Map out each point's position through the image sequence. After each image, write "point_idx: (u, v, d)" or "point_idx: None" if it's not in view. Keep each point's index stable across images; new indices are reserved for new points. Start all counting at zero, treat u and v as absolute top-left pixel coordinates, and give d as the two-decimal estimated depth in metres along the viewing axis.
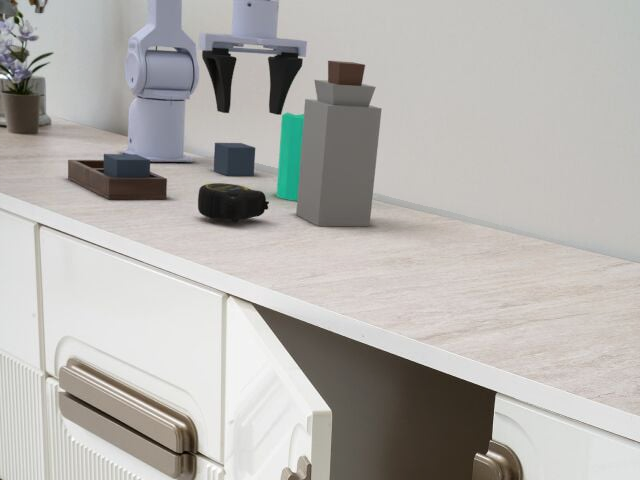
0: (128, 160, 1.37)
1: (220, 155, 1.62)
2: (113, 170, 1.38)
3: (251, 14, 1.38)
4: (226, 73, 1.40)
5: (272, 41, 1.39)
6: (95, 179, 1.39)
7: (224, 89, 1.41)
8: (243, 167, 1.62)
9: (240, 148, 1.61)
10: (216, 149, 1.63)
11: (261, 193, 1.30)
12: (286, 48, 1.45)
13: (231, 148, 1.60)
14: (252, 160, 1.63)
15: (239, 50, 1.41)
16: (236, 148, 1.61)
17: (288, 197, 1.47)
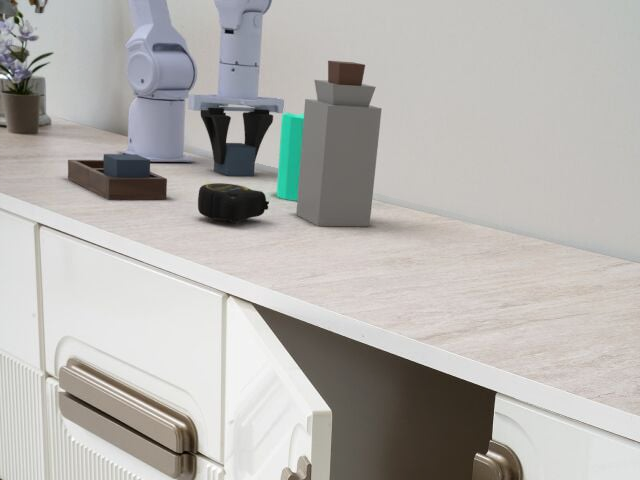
0: (128, 160, 1.37)
1: None
2: (113, 170, 1.38)
3: (234, 78, 1.56)
4: (221, 130, 1.59)
5: (253, 102, 1.57)
6: (95, 179, 1.39)
7: (220, 144, 1.60)
8: (243, 167, 1.62)
9: (240, 148, 1.61)
10: None
11: (261, 193, 1.30)
12: (266, 106, 1.63)
13: (231, 148, 1.60)
14: (252, 160, 1.63)
15: (224, 109, 1.59)
16: (236, 148, 1.61)
17: (288, 197, 1.47)
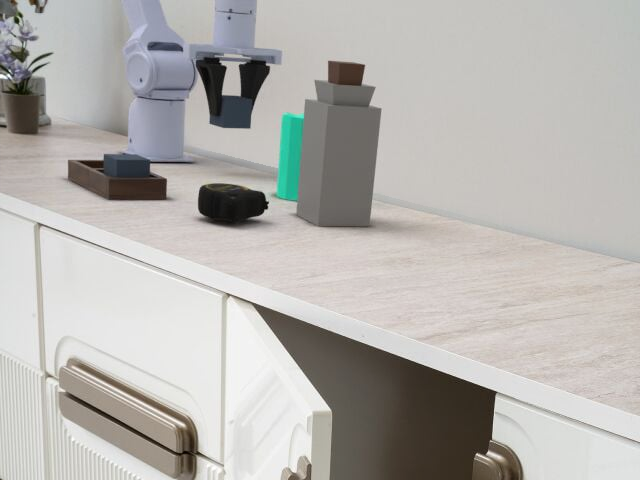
0: (128, 160, 1.37)
1: None
2: (113, 170, 1.38)
3: (230, 26, 1.53)
4: (217, 80, 1.55)
5: (250, 51, 1.54)
6: (95, 179, 1.39)
7: (215, 95, 1.56)
8: (239, 119, 1.59)
9: (237, 99, 1.57)
10: None
11: (261, 193, 1.30)
12: (263, 57, 1.59)
13: (227, 99, 1.57)
14: (249, 112, 1.59)
15: (220, 59, 1.56)
16: (232, 99, 1.57)
17: (288, 197, 1.47)
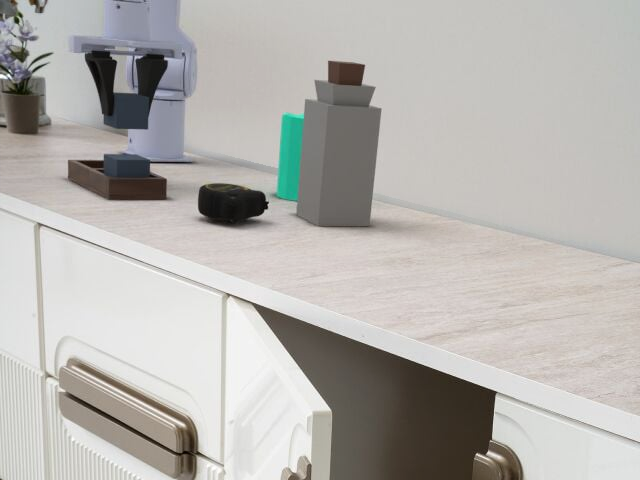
0: (128, 160, 1.37)
1: None
2: (113, 170, 1.38)
3: (120, 16, 1.38)
4: (107, 76, 1.40)
5: (142, 43, 1.39)
6: (95, 179, 1.39)
7: (106, 92, 1.41)
8: (134, 119, 1.43)
9: (131, 97, 1.42)
10: None
11: (261, 193, 1.30)
12: (161, 50, 1.44)
13: (120, 97, 1.41)
14: (145, 111, 1.44)
15: (111, 52, 1.41)
16: (126, 97, 1.42)
17: (288, 197, 1.47)
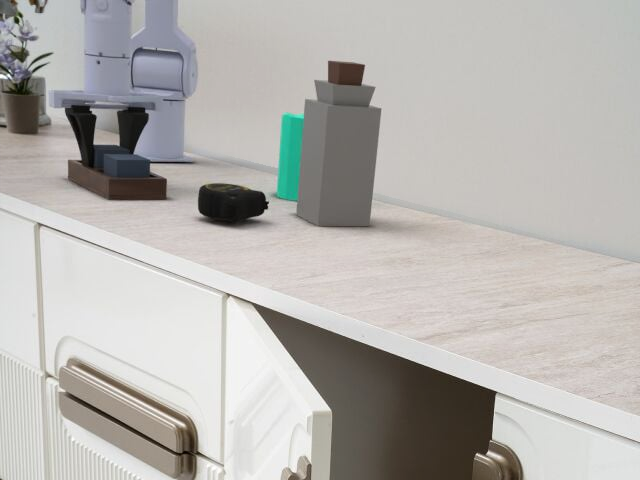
0: (128, 160, 1.37)
1: None
2: (113, 170, 1.38)
3: (100, 71, 1.38)
4: (87, 130, 1.40)
5: (122, 98, 1.39)
6: (95, 179, 1.39)
7: (86, 146, 1.41)
8: None
9: (111, 150, 1.42)
10: None
11: (261, 193, 1.30)
12: (142, 103, 1.44)
13: (100, 151, 1.42)
14: None
15: (91, 106, 1.41)
16: (106, 150, 1.42)
17: (288, 197, 1.47)
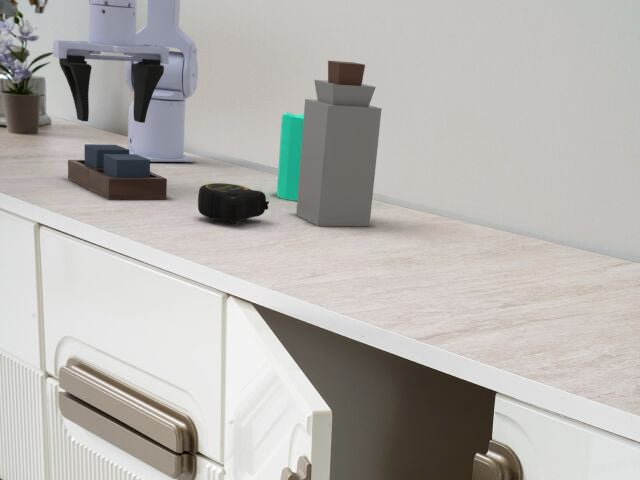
0: (128, 160, 1.37)
1: (90, 158, 1.44)
2: (113, 170, 1.38)
3: (105, 21, 1.36)
4: (82, 81, 1.38)
5: (128, 48, 1.37)
6: (95, 179, 1.39)
7: (81, 97, 1.39)
8: None
9: (111, 150, 1.42)
10: (86, 152, 1.44)
11: (261, 193, 1.30)
12: (147, 55, 1.42)
13: (100, 150, 1.42)
14: None
15: (96, 57, 1.39)
16: (106, 150, 1.42)
17: (288, 197, 1.47)
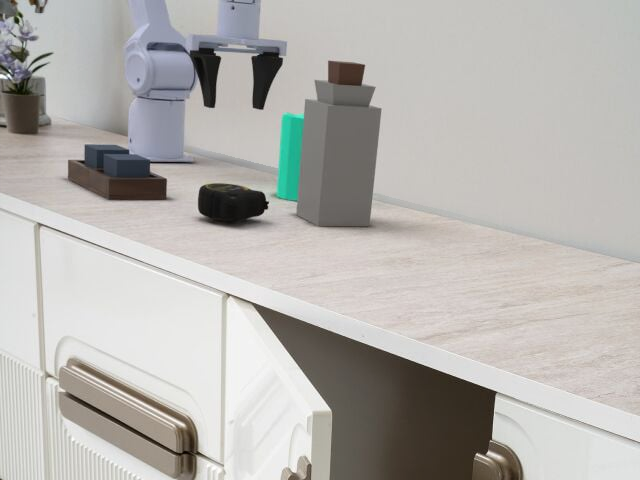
0: (128, 160, 1.37)
1: (90, 158, 1.44)
2: (113, 170, 1.38)
3: (234, 16, 1.50)
4: (211, 71, 1.51)
5: (254, 41, 1.51)
6: (95, 179, 1.39)
7: (210, 86, 1.53)
8: None
9: (111, 150, 1.42)
10: (86, 152, 1.44)
11: (261, 193, 1.30)
12: (268, 48, 1.56)
13: (100, 150, 1.42)
14: None
15: (224, 50, 1.53)
16: (106, 150, 1.42)
17: (288, 197, 1.47)
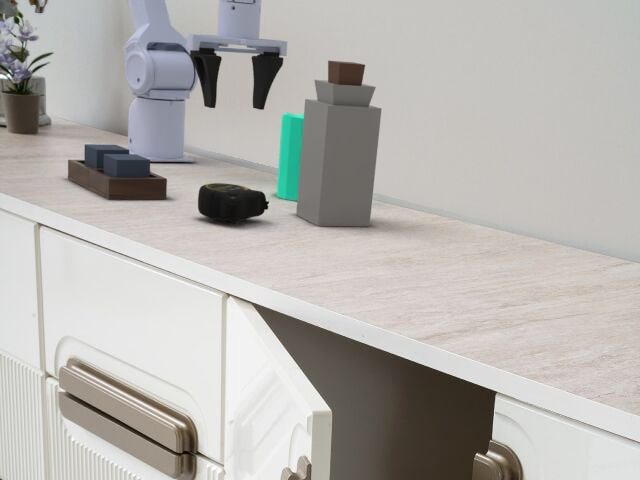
0: (128, 160, 1.37)
1: (90, 158, 1.44)
2: (113, 170, 1.38)
3: (235, 16, 1.50)
4: (212, 71, 1.51)
5: (254, 41, 1.51)
6: (95, 179, 1.39)
7: (210, 86, 1.53)
8: None
9: (111, 150, 1.42)
10: (86, 152, 1.44)
11: (261, 193, 1.30)
12: (268, 48, 1.56)
13: (100, 150, 1.42)
14: None
15: (224, 50, 1.53)
16: (106, 150, 1.42)
17: (288, 197, 1.47)
